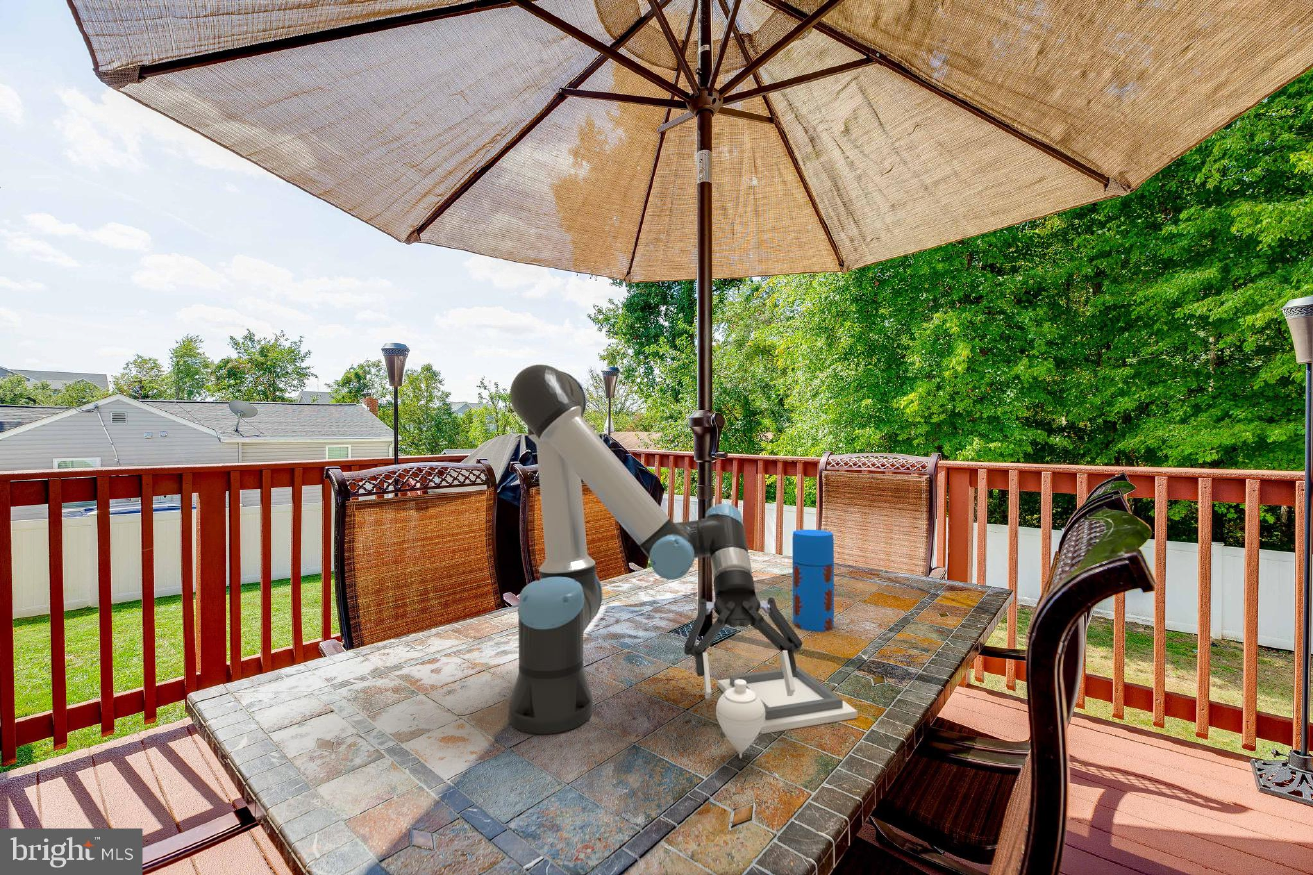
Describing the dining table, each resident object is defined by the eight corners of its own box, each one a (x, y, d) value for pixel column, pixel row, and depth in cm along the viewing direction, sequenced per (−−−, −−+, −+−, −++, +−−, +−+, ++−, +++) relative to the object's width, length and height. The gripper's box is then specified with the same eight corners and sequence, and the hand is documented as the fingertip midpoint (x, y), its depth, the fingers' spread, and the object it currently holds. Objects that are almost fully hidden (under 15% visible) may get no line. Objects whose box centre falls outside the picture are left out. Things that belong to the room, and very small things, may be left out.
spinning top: (706, 757, 86) (705, 681, 86) (735, 739, 92) (735, 667, 92) (745, 779, 81) (745, 697, 81) (775, 758, 86) (774, 681, 86)
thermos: (784, 621, 152) (784, 531, 152) (815, 616, 156) (814, 528, 157) (811, 634, 142) (810, 537, 142) (842, 628, 146) (842, 534, 147)
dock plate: (761, 733, 93) (761, 717, 93) (717, 686, 112) (717, 672, 112) (857, 717, 99) (857, 702, 99) (800, 674, 117) (800, 662, 117)
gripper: (793, 586, 107) (820, 700, 93) (666, 589, 106) (672, 704, 92) (801, 565, 102) (831, 683, 87) (667, 568, 101) (674, 687, 86)
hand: (749, 694), depth 89 cm, fingers open, 13 cm apart
